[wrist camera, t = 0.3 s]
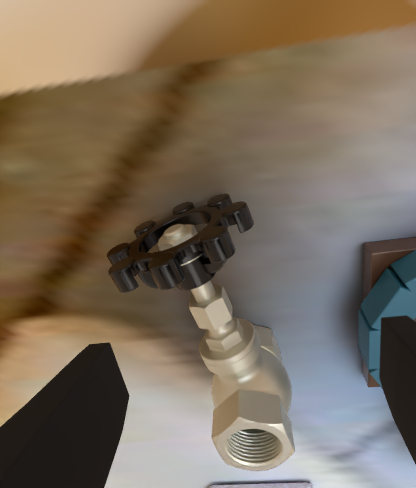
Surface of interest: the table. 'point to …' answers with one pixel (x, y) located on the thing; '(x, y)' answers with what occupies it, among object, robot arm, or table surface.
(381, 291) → the ring
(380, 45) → the table surface
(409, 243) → the ring stand
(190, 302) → the valve
